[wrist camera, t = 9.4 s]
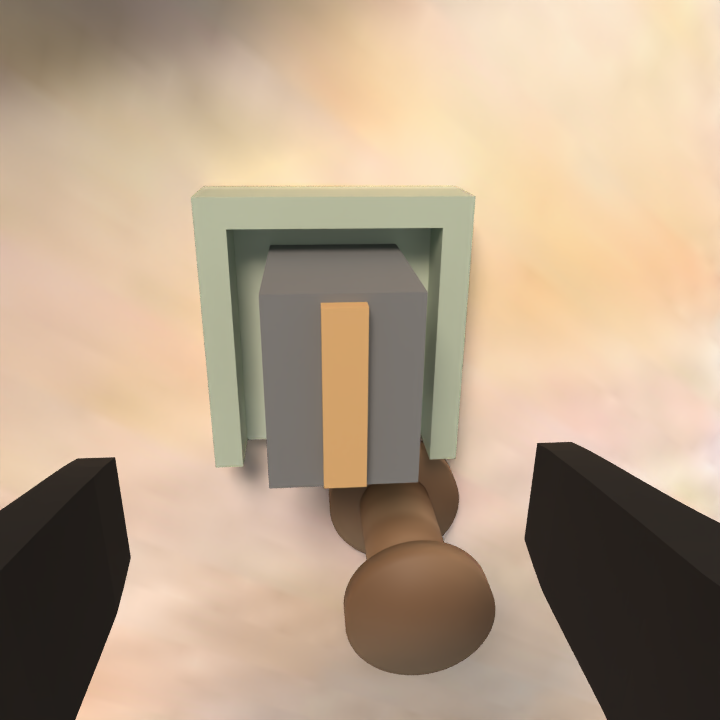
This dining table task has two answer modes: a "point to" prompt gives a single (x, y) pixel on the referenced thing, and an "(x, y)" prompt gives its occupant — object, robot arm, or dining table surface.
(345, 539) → the brown wooden knob
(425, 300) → the grey block
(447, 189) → the notch board
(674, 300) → the dining table surface
